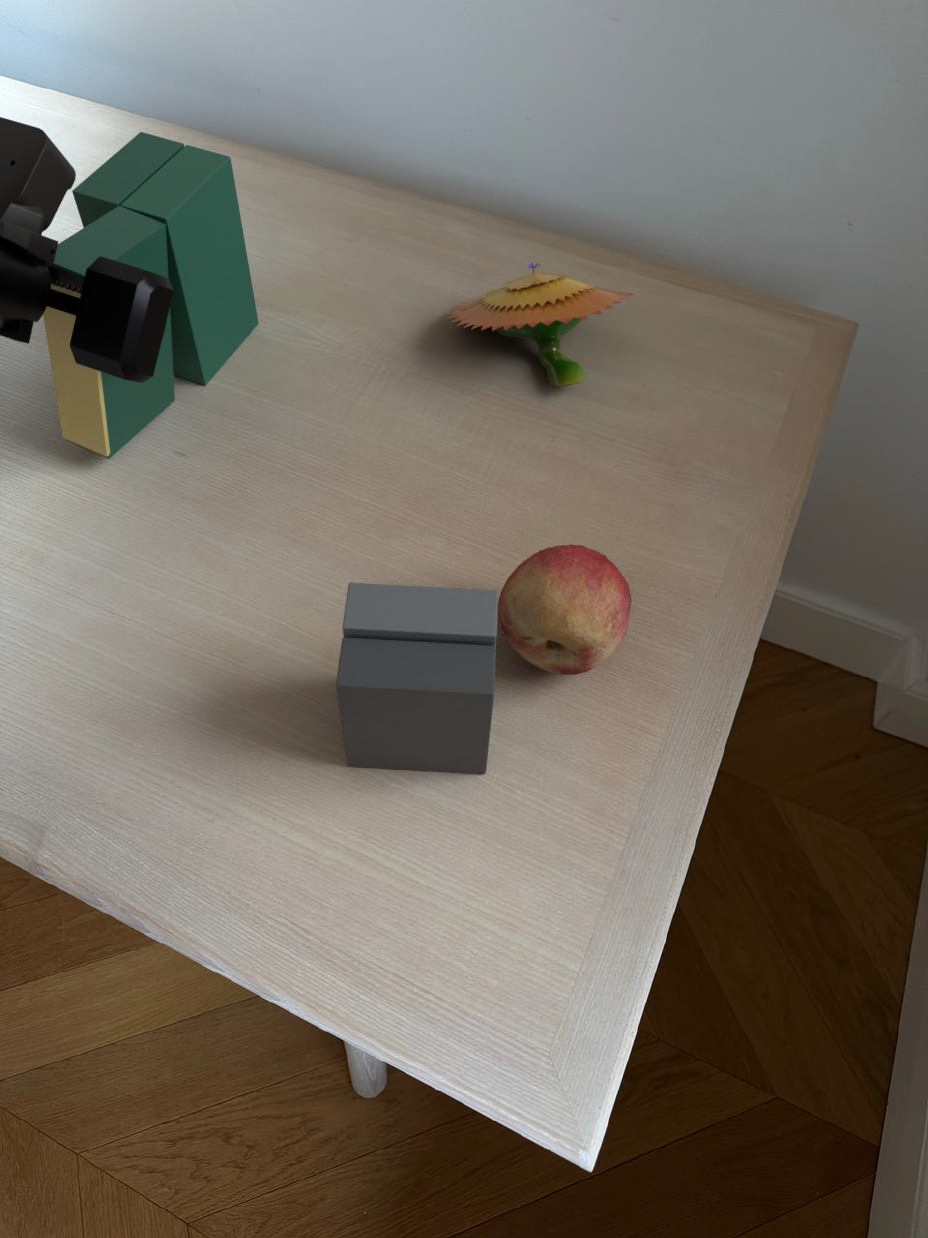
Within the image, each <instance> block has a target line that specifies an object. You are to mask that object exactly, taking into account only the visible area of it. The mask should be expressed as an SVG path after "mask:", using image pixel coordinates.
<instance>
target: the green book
mask: <svg viewBox="0 0 928 1238" xmlns="http://www.w3.org/2000/svg"><path fill="white" fill-rule="evenodd" d="M100 256H102V257H105V258H108V259H111V260H115V261H118V262H121V263H124V264H128V265H131V266H134V267H137V268H140V269H144V270H147V271H150V272H153V273H155V274H158V275H161V276H163V277H166V278H168V279H169V277H168V258H167V238H166V224H164V223H162V222H159V221H156V220H154V219H151V218H149V217H146V216H144V215H141V214H139V213H136V212H134V211H131V210H129V209H126V208H124V207H121V206H118V207H116V208H115V209H113V210H112V211H110V212H108V213H107V214H105V215H104V216H102V217H100V218H99V219H97V220H96V221H94V222H93V223H91V224H89V225H88V226H86V227H85V228H84V227H82V228H81V229H79V230H78V231H77V232H75V233H73V234H72V235H70V236H69V237H67V238H66V239H63V240H62V241H61V242H58V246H57V251H56V255H55V260H54V263H48V262H47V263H46V264H47V265H51V266H54V267H57V268H60V269H63V270H66V271H69V272H73V273H76V274H79V275H82V276H85V274H86V269H87V268H88V267H89V266H90V265H91V264H92V263H93V262H94V261H95V260H96V259H97V258H98V257H100ZM51 289H54V290H57V291H60V292H63V293H66V294H69V295H72V296H75V297H78V298H80V296H81V294H80V293H77V292H76V291H75V292H74V291H71V290H68V289H65V287H64V288H61V287H59V286H55V285H52V284H51ZM42 317H43V324H44V330H45V335H46V343H47V348H48V354H49V360H50V361H49V362H50V366H51V373H52V379H53V386H54V390H55V398H56V405H57V410H58V417H59V422H60V430H61V436H62V438H63V439H65V440H66V442H68V443H72V444H74V445H76V446H78V447H80V448H83V449H85V450H87V451H90V452H92V453H94V454H97V455H99V456H102V457H104V458H105V459H108V460H110V459H111V458H112V457H113V456H114V455H116V454H117V453H118V452H119V451H120V450H121V449H123V447H124V446H125V445H127V444H129V442H130V441H131V440H132V439H133V438H135V437H136V436H137V435H138V434H139V433H140V432H141V431H143V429H145V428H146V427H147V426H148V425H149V424H150V423H151V422H152V421H154V420H155V419H156V418H157V417H158V416H159V415H161V414H162V413H163V412H164V411H165V410H166V409H167V408H168V407H170V406H171V405H172V404H173V403H174V402H175V401H176V393H175V377H174V376H175V375H174V373H173V354H172V335H171V315H170V309H169V313H168V317H167V322H166V328H165V332H164V337H163V339H162V342H161V346H160V351H159V355H158V359H157V363H156V367H155V371H154V375H153V377H152V378H150V379H149V380H147V381H145V382H144V383H140V382H134V381H129V380H124V379H121V378H118V377H115V376H112V375H109V374H106V373H103V372H100V371H97V370H95V369H92V368H89V367H86V366H83V365H80V364H77V363H76V362H75V359H74V357H73V354H72V351H71V348H70V346H69V345H70V341H71V336H72V332H73V327H74V323H75V318H76V316H75V315H72V314H69V313H66V312H63V311H60V310H57V309H54V308H51V307H48V306H47V308H46V310H45V312H44V314H43V315H42Z"/></svg>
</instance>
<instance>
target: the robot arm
mask: <svg viewBox="0 0 928 1238" xmlns="http://www.w3.org/2000/svg"><path fill="white" fill-rule="evenodd" d="M76 173H77V172H76V170H75V168H74V167H73V165H72V164H71V163H70V162H69V160H68V159H67V157H65V156H64V154H63V153H62V152H61V150H60V149H59V148H58V147H57V146H56V144H55V143H54V142H53V140H52V139H51V138H50V136H49V135H48V134H47V133H46V132H45V131H44V130H43V129H41V128H40V127H37V126H33V125H30V124H26V123H24V122H19V121H17V120H12V119H9V118H6V117H1V116H0V336H1V337H4V338H7V339H9V340H13V341H16V342H20V343H24V344H30V342H31V336H32V333H33V327H34V324H35V323H37V322H39V321H40V320H41V318H42V317H43V314H44V312H45V310H46V308H47V306H48V307H51V308H54V309H57V310H60V311H63V312H66V313H69V314H72V315H75V316H76V318H75V323H74V327H73V332H72V336H71V341H70V345H69V346H70V348H71V351H72V354H73V357H74V359H75V362H76V363H77V364H80V365H83V366H86V367H89V368H92V369H95V370H97V371H100V372H103V373H106V374H109V375H112V376H115V377H118V378H121V379H124V380H129V381H134V382H140V383H144V382H145V381H147V380H149V379H150V378H152V377H153V375H154V371H155V367H156V363H157V359H158V355H159V351H160V346H161V342H162V339H163V337H164V332H165V328H166V322H167V317H168V313H169V309H170V305H171V301H172V297H173V293H174V289H173V287H172V285H171V283H170V281H169V279H168V278H166V277H163V276H161V275H158V274H155V273H153V272H150V271H147V270H144V269H140V268H137V267H134V266H131V265H128V264H124V263H121V262H118V261H115V260H111V259H108V258H105V257H102V256H100V257H98V258H97V259H96V260H95V261H94V262H93V263H92V264H91V265H90V266H89V267H88V268H87V269H86V274H85V276H82V275H79V274H76V273H73V272H69V271H66V270H63V269H60V268H57V267H54V266H51V265H47V264H46V263H47V262H48V263H54V260H55V255H56V251H57V246H58V244H59V241H58V240H56V239H53V238H51V237H48V236H45V235H43V233H44V232H45V231H47V230H48V228H49V227H50V226H51V224H52V223H53V220H54V218H55V217H56V215H57V212H58V211H59V209H60V207H61V204H62V202H63V200H64V198H65V197H66V194H67V192H68V191H69V190H71V189H72V188H73V186H74V184H75V182H76V176H77V174H76ZM51 284H52V285H55V286H59V287H61V288H64V287H65V289H68V290H71V291H74V292H75V291H76V292H77V293H80V294H81V296H80V298H78V297H75V296H72V295H69V294H66V293H63V292H60V291H57V290H54V289H51Z"/></svg>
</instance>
